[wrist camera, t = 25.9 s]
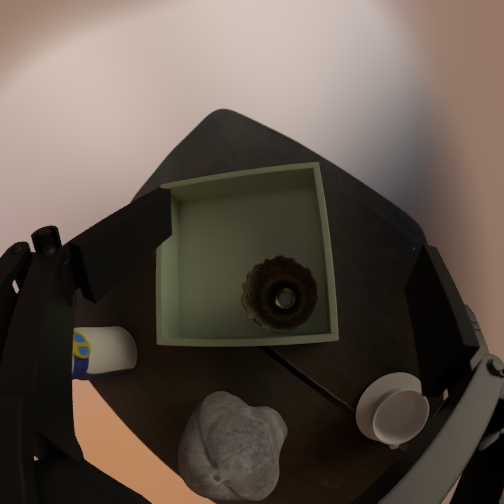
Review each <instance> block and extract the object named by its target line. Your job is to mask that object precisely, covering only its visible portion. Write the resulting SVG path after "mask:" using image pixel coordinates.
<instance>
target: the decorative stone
mask: <svg viewBox="0 0 504 504" xmlns="http://www.w3.org/2000/svg"><path fill="white" fill-rule="evenodd" d="M286 437H287V427H286V425H285V423H284V421H283V419H282V417H281V416H280V414H279V413H278V412H277V411H275V410H274V409H271V408H269V407H266V406H259V407H251V406H248V405H247V404H245V403H244V402H243V401H242V400H241V399H240V398H238V397H236V396H234V395H231V394H230V393H228V392H224V391H217V392H214V393H211V394H209V395H208V396H207V397H206V398H205V399H204V400H202V402H201V403H200V404H199V405H198V406H197V407H196V409H195V410H194V412H193V413H192V414H191V416H190V419H189V421H188V422H187V425H186V427H185V430H184V432H183V434H182V436H181V439H180V443H179V448H178V466H179V471H180V474H181V477H182V479H183V480H184V482H185V483H186V485H187V486H188V487H189V488H190V489H191V490H192V491H193V492H195V493H196V494H198V495H200V496H202V497H204V498H208V499H214V500H222V501H226V500H255V501H260V500H263V499H264V498H266V497H267V496H268V495H269V494H270V493H271V492H272V491H273V489H274V488H275V486H276V484H277V481H278V478H279V454H280V450H281V448H282V445H283V442H284V440H285V438H286Z"/></svg>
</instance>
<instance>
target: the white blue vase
mask: <svg viewBox="0 0 504 504" xmlns="http://www.w3.org/2000/svg"><path fill="white" fill-rule="evenodd" d="M137 356H138V353H137V347H136V343H135V341H134V339H133V337H132V336H131V334H130V333H129V332H128V331H127V330H125V329H124V328H122V327H118V326H114V327H99V328H74V336H73V355H72V380H73V379H79V380H93V379H99V378H104V377H110V376H118V375H125V374H128V373H129V372H131V371H132V370H133V369H134V367H135V365H136V362H137Z"/></svg>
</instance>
